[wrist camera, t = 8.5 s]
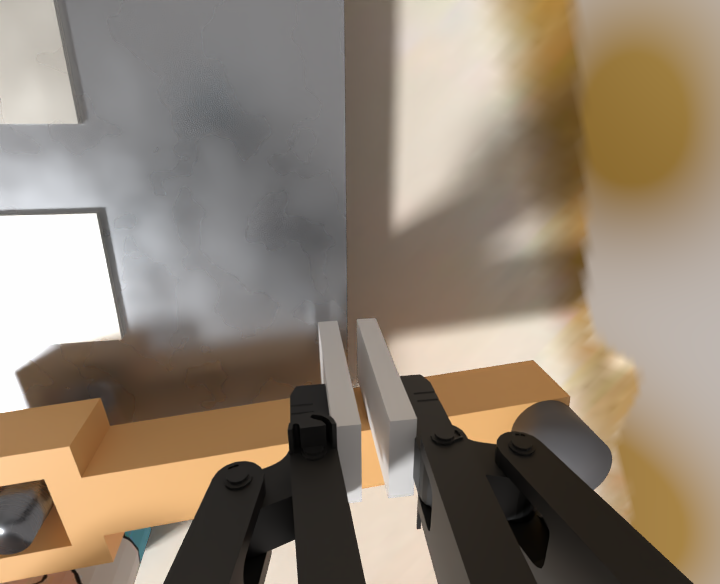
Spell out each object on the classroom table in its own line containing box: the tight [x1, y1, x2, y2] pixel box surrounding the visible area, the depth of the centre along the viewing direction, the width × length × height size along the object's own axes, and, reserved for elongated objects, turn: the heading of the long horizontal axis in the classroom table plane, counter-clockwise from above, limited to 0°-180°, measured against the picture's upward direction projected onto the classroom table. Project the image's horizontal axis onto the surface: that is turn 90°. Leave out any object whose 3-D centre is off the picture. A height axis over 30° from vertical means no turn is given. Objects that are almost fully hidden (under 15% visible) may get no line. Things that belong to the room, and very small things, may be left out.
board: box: [0, 0, 348, 555], centre depth 16 cm, size 20×18×8 cm
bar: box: [0, 360, 612, 583], centre depth 17 cm, size 23×5×5 cm, turn 95°
